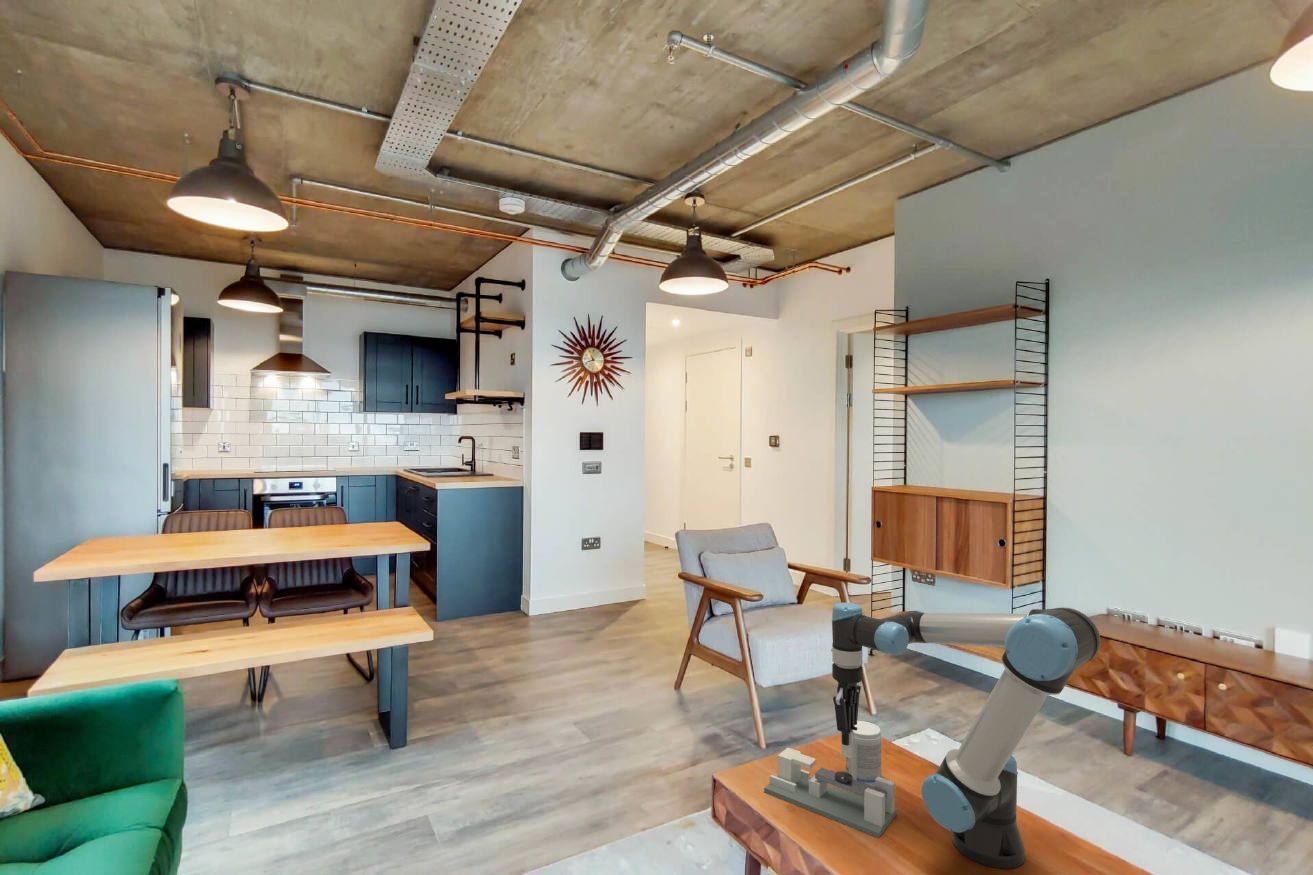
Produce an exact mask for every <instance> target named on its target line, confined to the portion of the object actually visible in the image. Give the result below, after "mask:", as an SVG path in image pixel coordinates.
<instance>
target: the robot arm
mask: <svg viewBox="0 0 1313 875" xmlns="http://www.w3.org/2000/svg"><path fill="white" fill-rule="evenodd" d="M831 628H832V630H831V632H832V642H831V643H832V644H831V645H832V647H831V649H830V651H831V652H832V653H831V654H832V662H833V663H832V664H831V669H832V672H831V675H832V679H833V680H835V681H837V688H836V692H837V695H836V696H835V695H834V696H833V697H832V700H833V704H834V710H835V711H834V712H835V720H836V730H837V732H840V734H841V735H840V743H841V745H840V746H841V749H840V751H841V752H840V755H841V756H842V757H845V758H846V757H848V758H852V757H853V756H854V733H853V730H855V731H857V727H855V725H857V721H858V718H859V717H858V716H859V707H860V706H859V705H860V694H861V690H862V688H861V687H862V685H858V684H859V683H862V681H863V667H862V665H863V661H864V660H863V647H864V648H869V649H871V650H874V651H878V652H881V653H883V654H886V655H894V656H899V655H902V654H903V653H904V652H905V651H906V650H907V648H908V646H909V644H935V645H936V644H937V645H939V644H940V645H953V646H954V645H957V646H971V647H989V648H992V647H993V648H1004V650H1005V651H1004V652H1003V654H1002V656H1001V663H1002V664H1003V668H1004V670H1003V672H1002V673H1001V675H1000V677H999V679H998V680H997V682H996V683H995V685H994V688H993V689H992V691H991V693H990V694H989V695H988V698H987V699H986V701H985V702H984V705H983V706H982V707H981V708H982V709H981V710H980V711H979V713H978V715H977V717H976V718H975V720H974V722H973V724H972V725H971V727H970V729H969V730H968V733H967V734H966V736H965V737H964V740H963V741H962V743H961V745H960V746H959V748H958V749H957V748H955V749H954V748H953V749H950V750H949V751H948V752H947V753H946V755H945V756H944V758H943V759H942V761H941V763H940V764H939V767H938V769H937V770H936V771H935V772H934V773H931V774H929V775H928V776H926V778H925V779H924V780H923V781H922V785H921V798H922V801H923V802H924V806H925V808H926V811H928V813H929V815H930V816H931V818H932V819H933V820H934V821H935V822H936V823H937V824H938V825H940V826H941V828H944V829H945V830H948V831H950V832H952V833H951V836H952V837H951V840H952V843H953V846H954V847H955V848H956V849H957V850H958V851H959V852H960V853H961V854H962V855H964V856H966V857H967V858H968V859H970V860H972V861H974V862H976V863H979V864H981V865H985V866H988V867H991V868H996V869H998V868H999V869H1014V868H1018V867H1020V866H1021V865H1023V864H1024V862H1025V858H1026V857H1025V852H1026V851H1025V850H1026V849H1025V843H1024V840H1023V838H1022V835H1021V831H1020V829H1019V826H1018V822H1017V809H1018V808H1017V807H1018V806H1017V805H1018V804H1017V802H1018V799H1017V798H1018V797H1017V796H1018V775H1019V772H1018V766H1017V764H1018V763H1017V760H1016V758H1015V757H1014V755H1013V753H1014V752H1015V750H1016V748H1017V747H1018V745H1019V743H1020V742H1021V741H1022V738H1023V737H1024V735H1025V734H1026V733H1027V730H1028V728H1029V727H1030V725H1031V723H1032V722H1033V720H1034V719H1035V717H1036V716H1037V714H1038V712H1039V711H1040V709H1041V707H1042V706H1043V704H1044V703H1045V701H1046V699H1047V697H1048V696H1054V695H1055V696H1056V695H1059V694H1061V693H1062V691H1063V690H1064V688H1065V686H1066V685H1067V683H1068V682H1069V680H1070V679H1071V677H1072V675H1073V674H1074V672H1075V671H1076V669H1077V668H1079V667H1081V666H1083V665H1085V664H1088V663H1089V662H1090V661H1092V660H1093V659H1094V658H1095V657H1096V656H1097V654H1098V652H1099V651H1100V647H1101V635H1100V631H1099V630H1098V628H1097V626H1096V623H1095V622H1094V621H1093V620H1092V619H1091V618H1090V617H1088V616H1087V615H1086V614H1085V613H1083V612H1081V611H1079V610H1077V609H1074V608H1070V607H1056V608H1043V609H1042V608H1040V609H1039V608H1037V609H1035V608H1033V609H1032V608H1031V609H1030V610H1029V611H1028V612H1027V613H989V612H988V613H987V612H985V613H983V612H982V613H980V612H974V613H973V612H924V611H922V610H919V609H918V610H907V611H905V612H903V613H902V612H901V613H899V614H896V615H891V616H887V617H886V616H885V617H884V618H875V617H871V616H868V615H867V616H866V615H864V612H863V607H862V606H861V605H860V604H856V603H854V602H853V603H852V602H838V603H835V604H834V605H833V606H832V615H831Z"/></svg>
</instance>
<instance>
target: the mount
mask: <svg viewBox="0 0 1313 875" xmlns="http://www.w3.org/2000/svg"><path fill="white" fill-rule="evenodd" d="M875 787H876V788H878V789H881V790H884V791H886V792H887V797H886V798H885V794H884V793H881V792H878V791H875V790H872V789H870V788H867V789H866V790H865V794H864V797H862V796H859V795H857V794H854V793H851V792H849V791H846V790H844V789H841V788H839V787H836V786H833V785H831V784H828V783H826V782H823V781H821V780H818V779H815V774H814V775H813V776H812V777H811V771H807V770H805V769H802V768H801V779H800V780H799V781H798V782H797V783H796V784H795V783H792V782H789V781H787V780H784V779H781V778H779V777H777V776H775V775H773V774H771V775H770V776H769V784H767V785H765V787H763V789H764V791H763V792H764V793H765V794H767V795H770V796H773V797H775V798H778V799H780V800H783V801H785V802H788V803H790V804H792V805H795V806H797V807H800V808H802V809H805V810H807V811H810V812H813V813H815V814H818V815H820V816H823V817H824V818H825V817H826V818H827V819H830V820H833V821H835V822H837V823H839V824H843V825H845V826H847V827H849V828H852V829H855V830H857V831H859V832H862V833H865V834H866V835H869V836H872V837H875V838H877V839H880V838H881V836H882V835H883V833H884V832H885V831H886V829H887V828H888V827H889V825H890V824H891V823H892V821H893V820H894V819H895V817H896V816H897V815H898V809H896V806H895V805H896V804H895V803H896V802H895V800H896V797H895V796H896V782H895V781H893V780H890V779H886V778H883V777H882V776H881V777H877V778H876V779H875Z"/></svg>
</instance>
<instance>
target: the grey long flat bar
mask: <svg viewBox="0 0 1313 875" xmlns="http://www.w3.org/2000/svg"><path fill="white" fill-rule="evenodd" d="M814 775H815V779H818V780H821V781H823V782H826V783H827V784H828V785H831V786H834V787H836V788H839V789H842V790H845V791H847V792H850V793H853V794H856V795H858V796H861V797H864V794H865V790H866V789H867V788H870V789H872V790H875V791H878V792H881V793H884V794H885V798H886V797H887V792H886V791H884V790H881V789H878V788H876V787H873V786H870V785H868V784H865V783H862V782H860V781H857V780H854V779H852V778H853V777H852V775H851V774H849V773H847V772H846V771H841V770H840V771H836V772H835V771H832V770H830V769H827V768H825V767H820V768H819V769H818V770H817V771H816V772H815V773H814Z"/></svg>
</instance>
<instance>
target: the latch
mask: <svg viewBox="0 0 1313 875" xmlns="http://www.w3.org/2000/svg"><path fill="white" fill-rule="evenodd" d="M816 764H817V758H814V757H812V756H809V755H806V754H803V753H802V752H801V751H799V750H795V749H794V748H790V747H787V748H785V749H784V750H783V751H781V752H780V753H778V755H777V773H776V774H777V776H776V777H779V778H781V779H784V780H787V781H789V782H792V783H795V784H796V783H797V782H798V781H799V780H800V779H801V769H802V768H806V769H809V770H811V769H812V768H813V767H814V766H815V765H816Z"/></svg>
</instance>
